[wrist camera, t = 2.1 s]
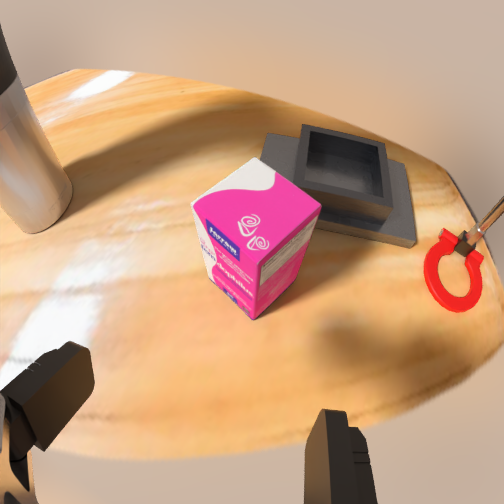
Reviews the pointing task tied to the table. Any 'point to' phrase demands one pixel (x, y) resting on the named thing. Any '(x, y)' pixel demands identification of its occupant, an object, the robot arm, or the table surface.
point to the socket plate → (347, 183)
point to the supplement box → (254, 234)
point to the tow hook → (473, 260)
